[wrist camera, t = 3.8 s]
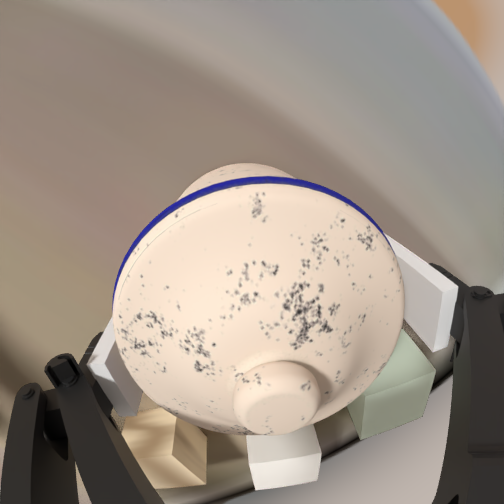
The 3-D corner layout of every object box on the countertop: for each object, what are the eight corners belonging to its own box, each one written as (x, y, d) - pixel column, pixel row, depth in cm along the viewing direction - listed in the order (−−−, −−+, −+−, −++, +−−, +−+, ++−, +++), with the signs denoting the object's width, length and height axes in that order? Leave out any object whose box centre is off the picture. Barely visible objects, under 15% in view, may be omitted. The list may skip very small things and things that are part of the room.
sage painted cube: (341, 392, 22) (360, 440, 17) (340, 347, 20) (365, 396, 15) (396, 375, 22) (422, 416, 17) (402, 328, 20) (436, 370, 16)
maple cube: (158, 445, 23) (152, 488, 18) (127, 413, 21) (114, 460, 17) (207, 436, 23) (206, 484, 18) (178, 403, 21) (171, 454, 16)
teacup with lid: (132, 211, 16) (1, 337, 5) (283, 128, 15) (413, 108, 4) (238, 365, 20) (251, 527, 9) (361, 306, 19) (456, 444, 8)
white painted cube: (250, 444, 24) (255, 490, 19) (244, 412, 22) (248, 463, 17) (306, 436, 24) (317, 480, 19) (307, 403, 22) (321, 452, 17)
